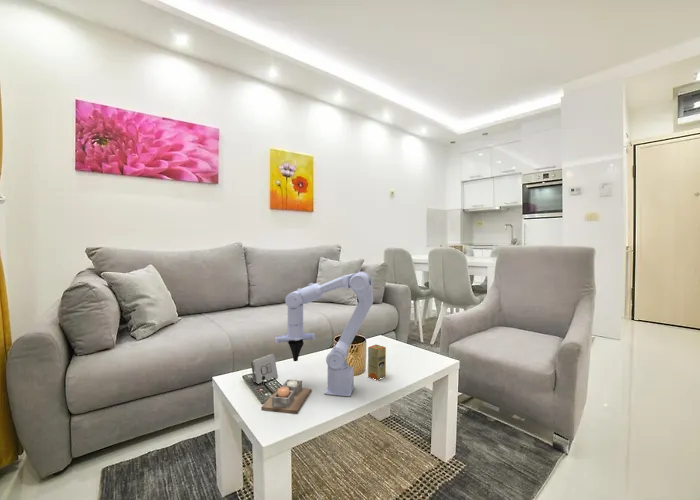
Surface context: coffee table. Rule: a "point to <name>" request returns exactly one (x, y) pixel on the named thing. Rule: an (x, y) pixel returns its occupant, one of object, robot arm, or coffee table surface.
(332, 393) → the robot arm
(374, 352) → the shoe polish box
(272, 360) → the electrical switch
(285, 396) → the plug terracotta
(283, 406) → the panel
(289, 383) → the plug cream
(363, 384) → the coffee table surface
